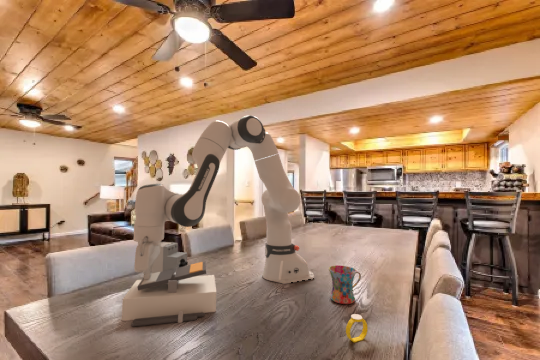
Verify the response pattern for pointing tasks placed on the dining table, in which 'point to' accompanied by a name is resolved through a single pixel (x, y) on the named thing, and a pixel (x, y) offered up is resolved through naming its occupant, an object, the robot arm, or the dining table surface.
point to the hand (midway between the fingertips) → (147, 278)
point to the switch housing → (171, 298)
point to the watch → (348, 328)
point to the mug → (343, 284)
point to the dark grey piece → (167, 319)
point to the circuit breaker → (169, 258)
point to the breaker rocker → (173, 275)
